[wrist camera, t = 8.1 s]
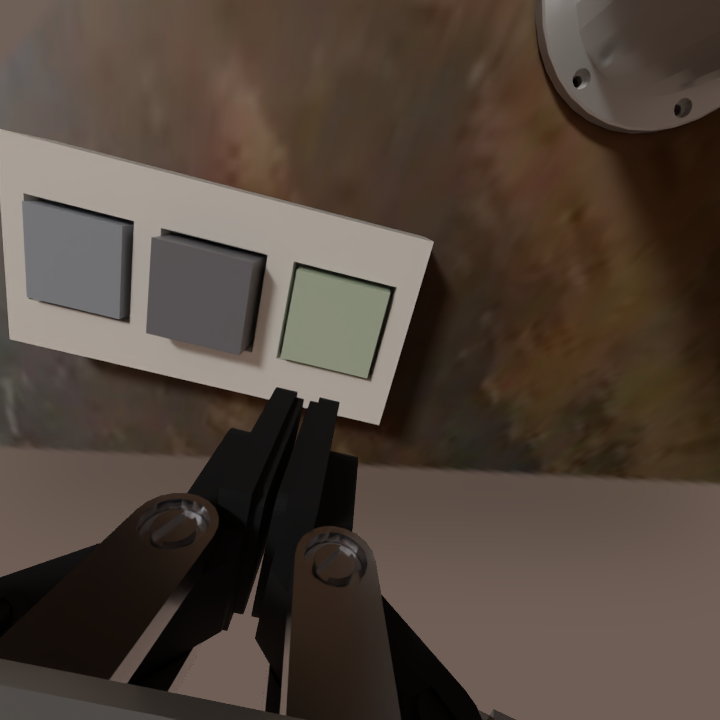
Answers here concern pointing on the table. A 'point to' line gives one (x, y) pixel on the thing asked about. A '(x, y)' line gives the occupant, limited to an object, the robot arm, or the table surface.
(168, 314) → the charcoal key
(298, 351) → the sage key
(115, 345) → the keypad
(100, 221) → the slate key
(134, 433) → the table surface
